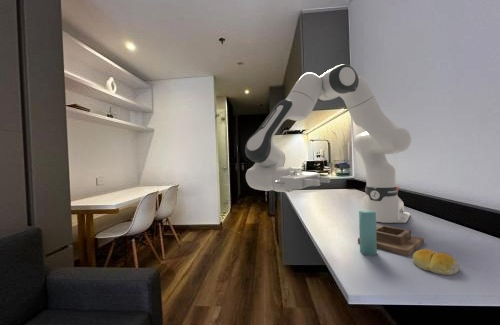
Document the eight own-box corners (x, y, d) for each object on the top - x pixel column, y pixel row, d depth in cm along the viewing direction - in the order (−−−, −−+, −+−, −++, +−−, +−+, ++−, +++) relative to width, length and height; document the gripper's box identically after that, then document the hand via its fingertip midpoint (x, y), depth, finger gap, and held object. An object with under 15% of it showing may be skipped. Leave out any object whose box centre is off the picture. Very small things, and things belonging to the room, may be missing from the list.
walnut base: (377, 232, 85) (376, 221, 85) (423, 243, 74) (423, 230, 74) (358, 242, 76) (357, 230, 76) (407, 256, 65) (407, 241, 65)
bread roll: (421, 257, 65) (420, 242, 65) (463, 269, 57) (462, 253, 57) (405, 265, 61) (405, 249, 61) (448, 280, 53) (448, 262, 53)
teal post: (364, 248, 72) (363, 209, 71) (379, 252, 68) (378, 211, 68) (357, 252, 69) (356, 211, 69) (372, 256, 66) (371, 214, 65)
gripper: (270, 172, 75) (312, 173, 67) (297, 169, 91) (333, 169, 83) (271, 192, 75) (313, 196, 67) (298, 185, 92) (334, 187, 83)
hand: (324, 181), depth 75 cm, fingers open, 8 cm apart
